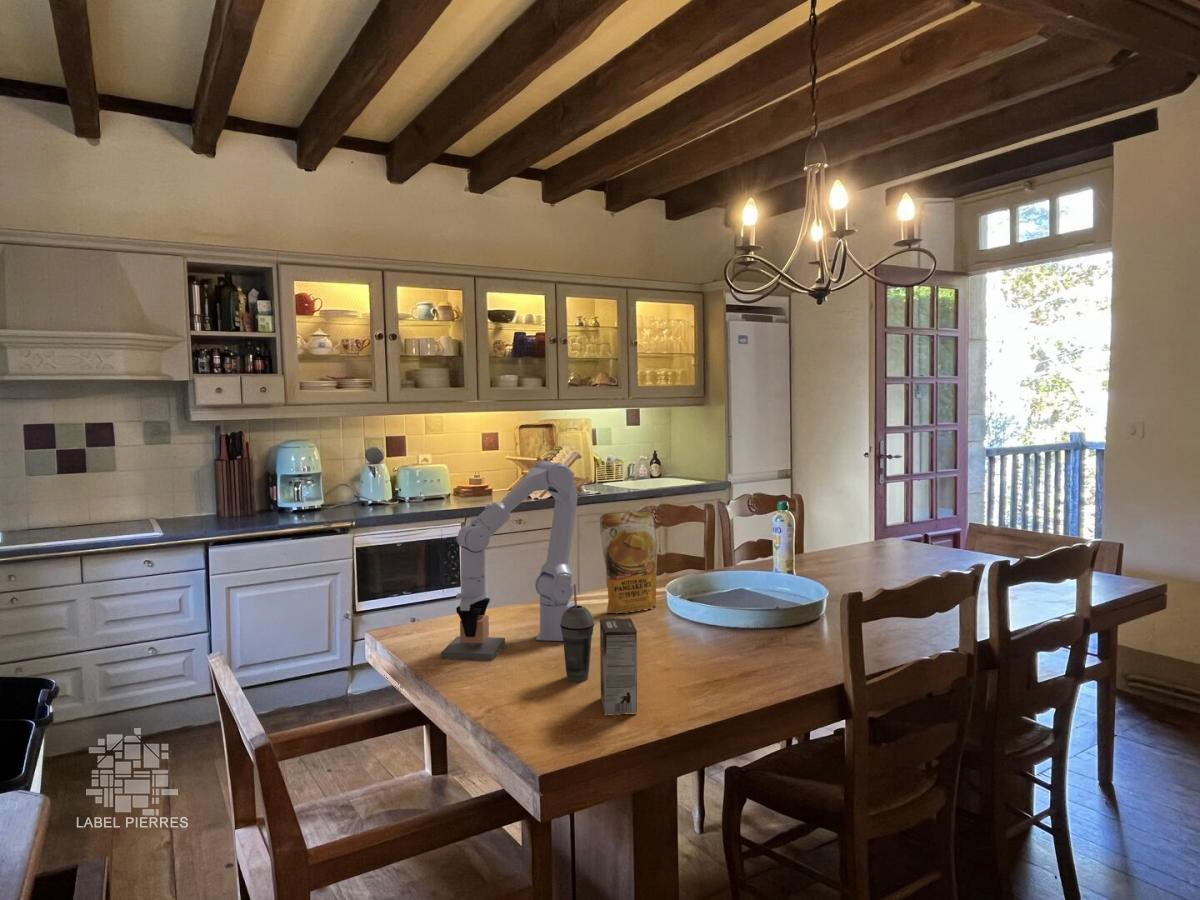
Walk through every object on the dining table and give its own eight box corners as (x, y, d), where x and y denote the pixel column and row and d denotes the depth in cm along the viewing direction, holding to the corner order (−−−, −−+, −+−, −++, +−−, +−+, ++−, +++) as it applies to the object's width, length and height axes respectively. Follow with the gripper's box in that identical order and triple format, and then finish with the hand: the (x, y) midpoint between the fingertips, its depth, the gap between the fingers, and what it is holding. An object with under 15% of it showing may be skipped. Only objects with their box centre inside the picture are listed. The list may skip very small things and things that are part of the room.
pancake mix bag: (594, 611, 214) (594, 512, 212) (652, 602, 222) (652, 508, 221) (605, 617, 208) (605, 515, 206) (664, 608, 216) (665, 511, 215)
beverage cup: (569, 686, 157) (568, 591, 155) (554, 675, 163) (554, 583, 162) (600, 680, 160) (600, 587, 159) (585, 669, 166) (584, 580, 165)
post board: (505, 643, 185) (504, 619, 184) (492, 660, 173) (492, 634, 172) (457, 642, 186) (456, 618, 186) (441, 658, 174) (441, 632, 174)
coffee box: (599, 697, 151) (599, 617, 150) (631, 696, 151) (631, 616, 150) (603, 716, 142) (603, 631, 141) (637, 715, 142) (637, 630, 141)
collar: (488, 635, 182) (488, 615, 181) (482, 642, 176) (482, 621, 176) (466, 635, 182) (466, 614, 182) (460, 642, 177) (460, 621, 177)
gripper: (465, 569, 186) (466, 623, 187) (446, 582, 172) (447, 641, 172) (493, 569, 185) (494, 624, 186) (477, 583, 171) (478, 642, 172)
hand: (473, 632), depth 179 cm, fingers closed on collar, 5 cm apart
